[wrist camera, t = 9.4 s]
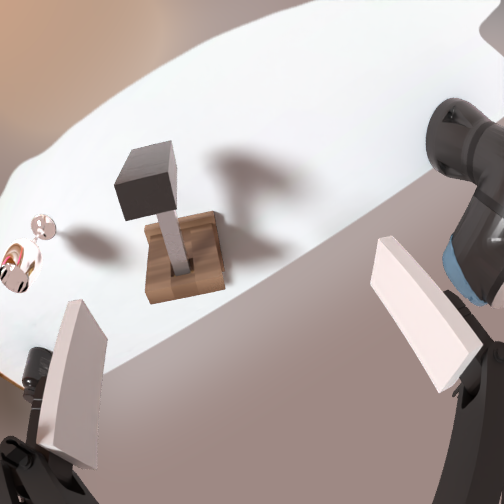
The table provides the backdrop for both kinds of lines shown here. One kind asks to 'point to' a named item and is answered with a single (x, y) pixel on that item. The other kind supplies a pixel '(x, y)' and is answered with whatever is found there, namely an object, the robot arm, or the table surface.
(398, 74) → the table surface
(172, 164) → the grey hammer
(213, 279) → the bearing frame
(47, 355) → the supplement bottle
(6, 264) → the wineglass
